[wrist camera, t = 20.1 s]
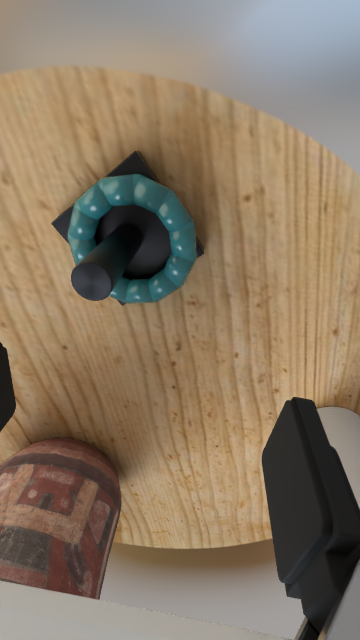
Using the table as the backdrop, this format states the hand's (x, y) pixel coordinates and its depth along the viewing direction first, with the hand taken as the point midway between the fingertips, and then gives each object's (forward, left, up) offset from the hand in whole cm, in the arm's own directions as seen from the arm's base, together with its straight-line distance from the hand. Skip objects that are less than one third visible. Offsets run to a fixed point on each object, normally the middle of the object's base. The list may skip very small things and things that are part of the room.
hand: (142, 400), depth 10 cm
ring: (+3, -3, -16) cm, 17 cm away
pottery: (+31, +17, -19) cm, 40 cm away
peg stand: (+3, -3, -18) cm, 19 cm away
